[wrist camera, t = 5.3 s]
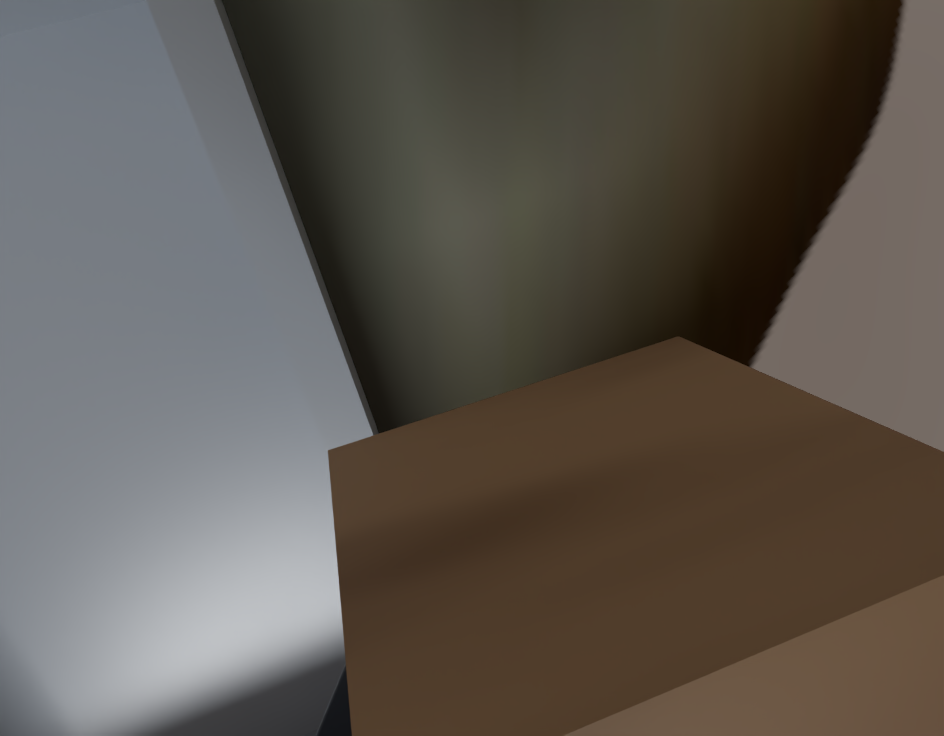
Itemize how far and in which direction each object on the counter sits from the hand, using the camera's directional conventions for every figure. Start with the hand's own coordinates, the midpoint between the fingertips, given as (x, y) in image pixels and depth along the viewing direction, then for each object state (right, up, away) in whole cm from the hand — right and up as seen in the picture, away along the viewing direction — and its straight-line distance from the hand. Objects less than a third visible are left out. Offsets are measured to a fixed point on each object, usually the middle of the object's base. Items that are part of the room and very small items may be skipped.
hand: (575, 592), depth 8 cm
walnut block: (0, 0, +1) cm, 1 cm away
